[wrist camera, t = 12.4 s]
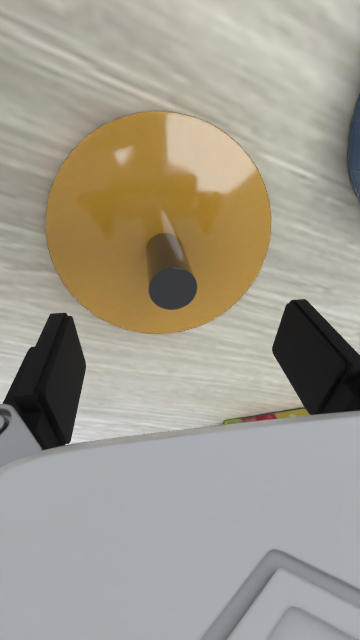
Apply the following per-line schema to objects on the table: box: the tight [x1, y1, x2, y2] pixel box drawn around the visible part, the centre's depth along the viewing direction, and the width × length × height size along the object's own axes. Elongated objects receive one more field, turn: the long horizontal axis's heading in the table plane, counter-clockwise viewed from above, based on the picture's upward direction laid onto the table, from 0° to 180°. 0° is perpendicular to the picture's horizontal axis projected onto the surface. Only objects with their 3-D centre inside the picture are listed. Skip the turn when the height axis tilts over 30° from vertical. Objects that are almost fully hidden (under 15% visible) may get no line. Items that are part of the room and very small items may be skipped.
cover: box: [46, 111, 271, 334], centre depth 16 cm, size 15×15×6 cm
